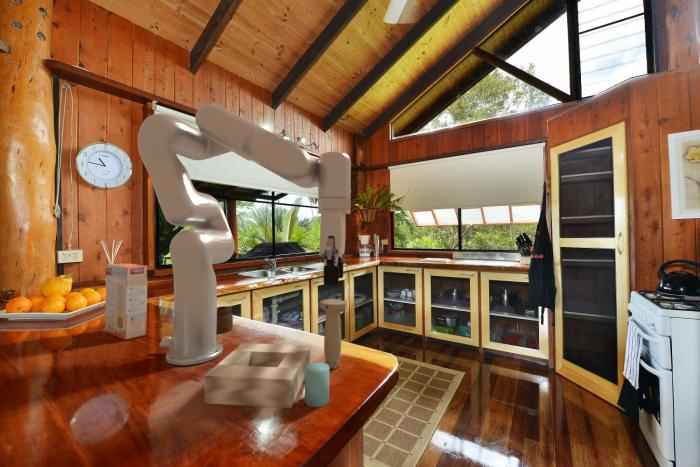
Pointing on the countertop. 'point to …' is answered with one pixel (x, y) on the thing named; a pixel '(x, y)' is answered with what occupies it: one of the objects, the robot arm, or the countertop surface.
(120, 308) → the cracker box
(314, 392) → the short dowel
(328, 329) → the handle
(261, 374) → the socket block
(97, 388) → the countertop surface
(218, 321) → the utensil holder
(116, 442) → the countertop surface
